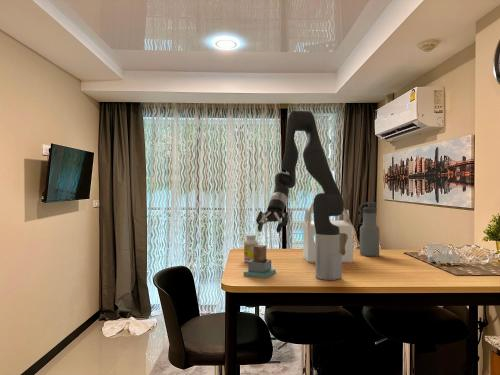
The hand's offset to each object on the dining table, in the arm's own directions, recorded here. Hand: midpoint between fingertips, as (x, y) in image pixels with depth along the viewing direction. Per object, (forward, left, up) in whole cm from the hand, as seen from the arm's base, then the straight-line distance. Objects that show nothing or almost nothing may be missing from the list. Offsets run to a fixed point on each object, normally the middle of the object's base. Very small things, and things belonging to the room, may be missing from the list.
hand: (268, 231), depth 145 cm
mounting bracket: (-45, -71, -17) cm, 86 cm away
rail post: (-4, +9, -15) cm, 18 cm away
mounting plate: (-4, +9, -16) cm, 19 cm away
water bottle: (-11, -63, -17) cm, 67 cm away
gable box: (-4, -36, -17) cm, 40 cm away
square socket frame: (-4, +9, -15) cm, 18 cm away
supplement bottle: (+17, -4, -17) cm, 24 cm away
